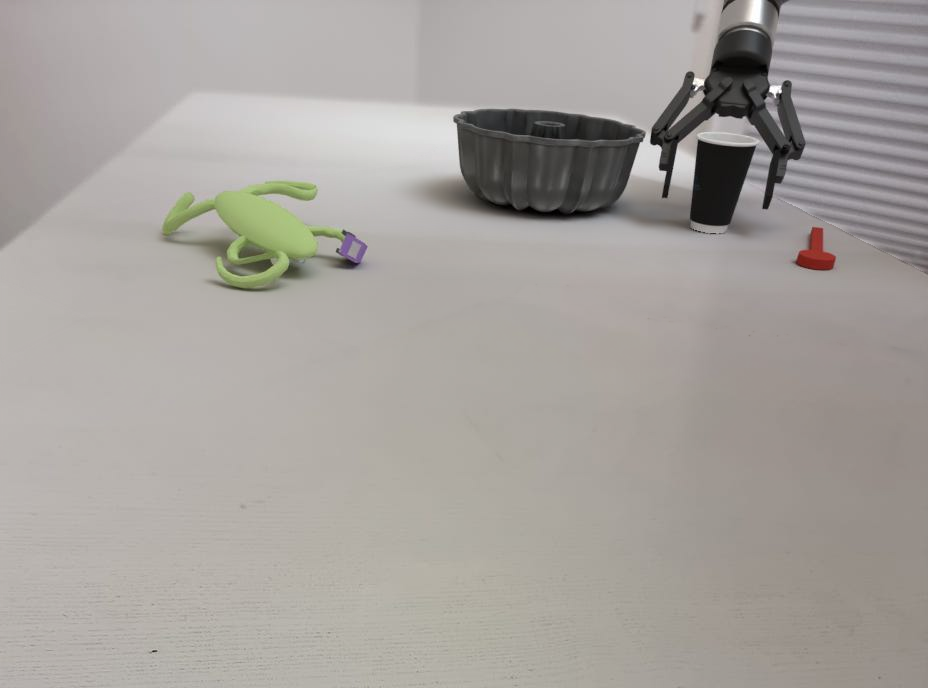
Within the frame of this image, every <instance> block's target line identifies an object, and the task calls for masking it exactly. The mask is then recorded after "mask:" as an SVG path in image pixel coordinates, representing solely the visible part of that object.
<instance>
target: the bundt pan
mask: <svg viewBox="0 0 928 688" xmlns="http://www.w3.org/2000/svg"><path fill="white" fill-rule="evenodd" d="M452 117H453V118H452V122H453V123H454V124H456V131H457V132H456V133H457V146H458V147H457V148H458V158H459V159H458V161H459V169H460V172H461V175H462V178H463V180H464V181H465V183H466V185H467V187H468V189H469V190H470V191H471V192H472V194H474V195H475V196H476V197H477V198H479V199H481V200H483V201H487V202H491V203H494V204H496V205H499V206H510V205H512V207H513V208H514V209H515V210H517V211H524V210H525V209H527V208H529V207H530V208H531V209H533V210H535V211H537V212H541V213H549V212H553V211H555V210H558V211H559V212H560V213H561V214H563V215H570V214H572V213H574V211H577V212H582V213H583V212H591V211H595V210H603V209H605V208H608V207H610V206H612V205H613V204H615V203H616V202H617V201H618V200H619V199H620V197H621V196H622V195H623V194H624V192H625V190H626V187H627V186H628V183H629V180H630V176H631V174H632V170H633V167H634V163H635V160H636V157H637V154H638V151H639V148H640V144H641V143H643V142H644V139H645V137H646V135H647V133H646V130H644V129H642V128H638V127H637V126H636V125H635V124H629V123H624V122H621V121H619V120H615V119H612V118H605V117H600V116H599V117H598V116H590V115H587V114H583V113H569V112H565V111H564V112H562V111H557V110H555V111H554V110H545V109H522V108H480V109H479V108H477V109H473V110H461V111H460V113H456V114H454V115H453V116H452Z"/></svg>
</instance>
